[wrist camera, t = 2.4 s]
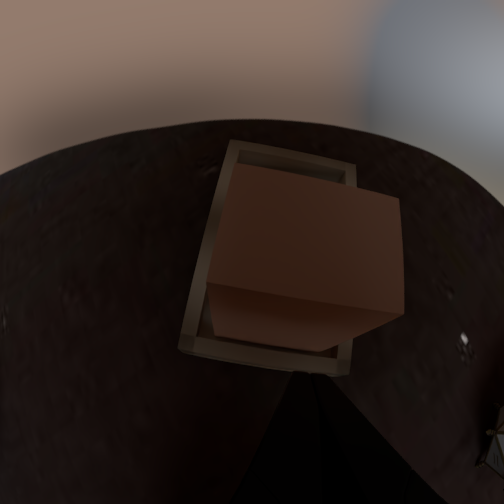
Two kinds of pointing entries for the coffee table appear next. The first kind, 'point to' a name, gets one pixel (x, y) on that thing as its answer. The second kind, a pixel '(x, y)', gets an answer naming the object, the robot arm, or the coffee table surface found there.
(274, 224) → the terracotta block
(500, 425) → the game die
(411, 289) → the coffee table surface
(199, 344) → the box
